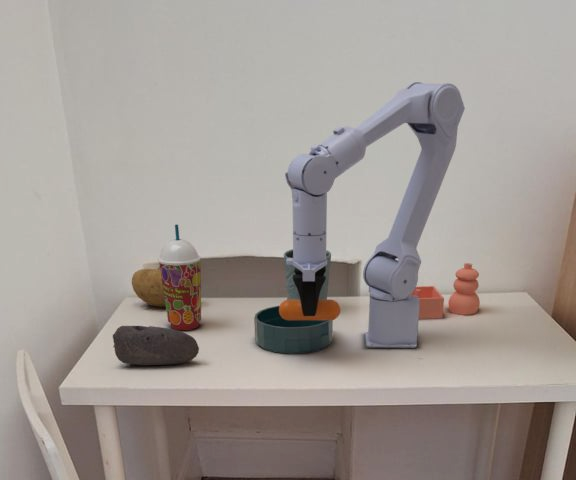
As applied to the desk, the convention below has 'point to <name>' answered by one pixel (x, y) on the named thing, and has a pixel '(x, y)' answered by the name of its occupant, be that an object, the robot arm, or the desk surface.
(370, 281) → the robot arm
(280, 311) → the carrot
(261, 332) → the teal shallow bowl
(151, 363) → the perforated stone tool
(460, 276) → the bottle and box
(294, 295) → the green cylindrical vase
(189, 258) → the smoothie
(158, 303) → the potato
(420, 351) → the desk surface
